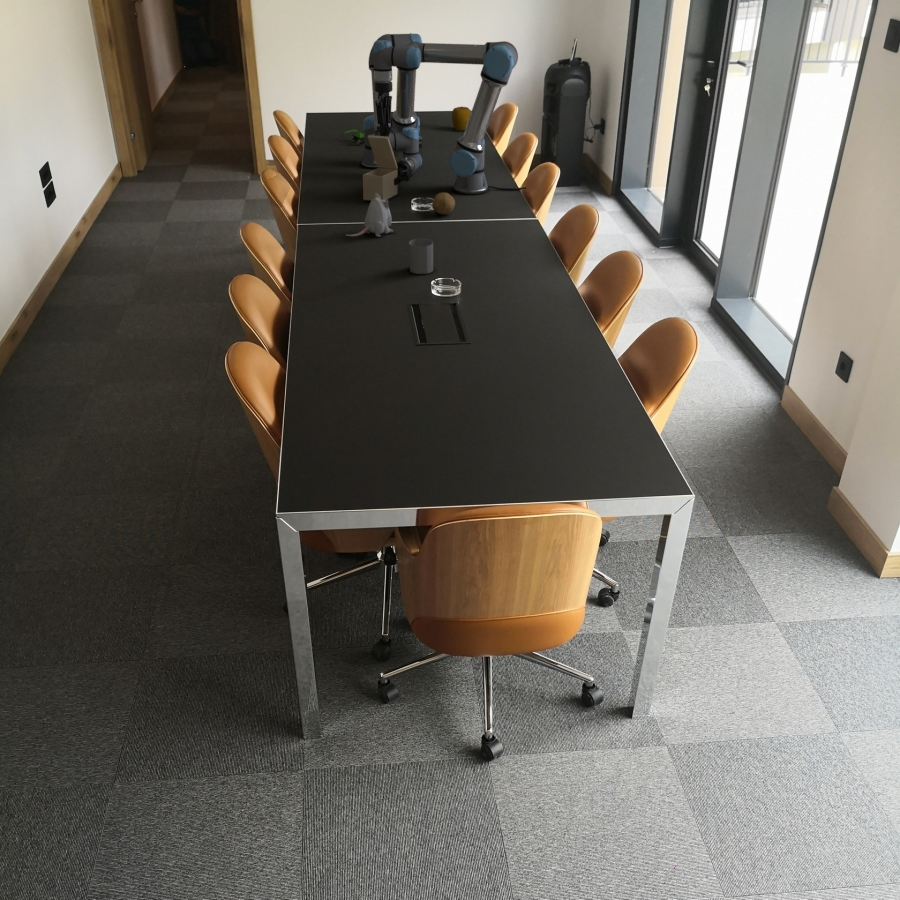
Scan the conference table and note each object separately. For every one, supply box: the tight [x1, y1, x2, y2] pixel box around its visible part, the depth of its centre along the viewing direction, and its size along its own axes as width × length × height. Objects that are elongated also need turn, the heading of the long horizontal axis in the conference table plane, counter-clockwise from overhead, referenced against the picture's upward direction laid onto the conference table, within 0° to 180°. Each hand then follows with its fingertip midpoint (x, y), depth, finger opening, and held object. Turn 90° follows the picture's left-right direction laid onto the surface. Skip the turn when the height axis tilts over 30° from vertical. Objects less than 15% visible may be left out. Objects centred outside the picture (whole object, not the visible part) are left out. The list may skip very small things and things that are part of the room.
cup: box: [408, 237, 434, 275], centre depth 305 cm, size 8×8×10 cm
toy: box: [346, 193, 394, 238], centre depth 334 cm, size 9×24×15 cm, turn 137°
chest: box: [362, 168, 399, 201], centre depth 379 cm, size 17×9×10 cm, turn 161°
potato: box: [431, 192, 456, 216], centre depth 360 cm, size 10×14×8 cm
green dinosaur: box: [343, 129, 365, 146], centre depth 465 cm, size 6×13×30 cm
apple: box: [451, 105, 472, 132], centre depth 487 cm, size 11×11×13 cm
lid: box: [368, 126, 398, 169], centre depth 376 cm, size 18×9×9 cm
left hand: (384, 181), depth 382 cm, fingers closed on chest, 9 cm apart
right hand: (384, 139), depth 375 cm, fingers closed on lid, 2 cm apart
